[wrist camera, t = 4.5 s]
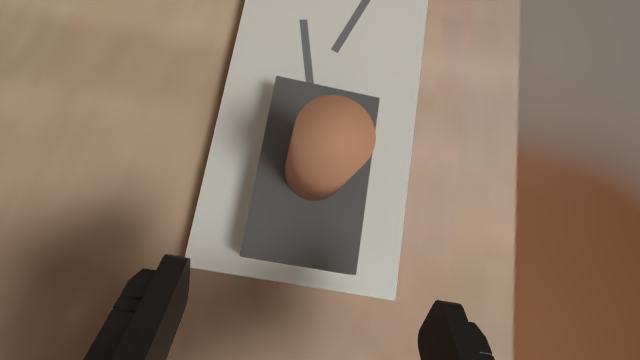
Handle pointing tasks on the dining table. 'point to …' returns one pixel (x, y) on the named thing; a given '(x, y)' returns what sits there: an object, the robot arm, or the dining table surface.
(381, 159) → the marked board
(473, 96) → the dining table surface
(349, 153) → the sanding block
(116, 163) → the dining table surface
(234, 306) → the dining table surface
